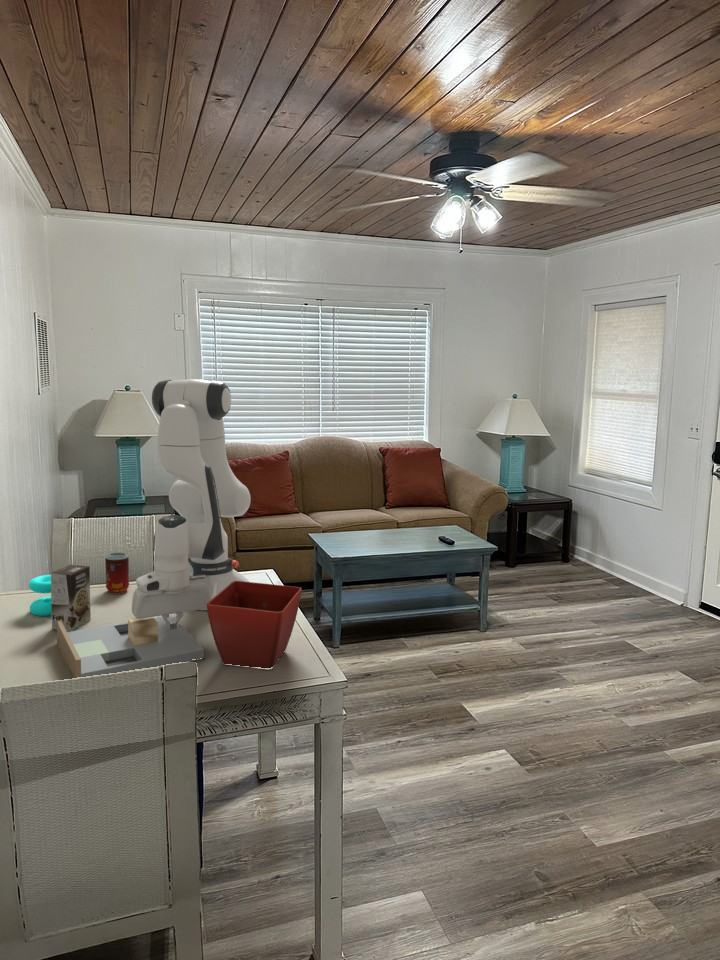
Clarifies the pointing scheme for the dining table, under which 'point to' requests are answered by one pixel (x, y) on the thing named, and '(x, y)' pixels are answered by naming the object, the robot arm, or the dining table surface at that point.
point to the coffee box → (70, 596)
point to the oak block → (142, 630)
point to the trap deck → (123, 649)
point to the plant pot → (253, 622)
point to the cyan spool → (43, 604)
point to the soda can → (117, 573)
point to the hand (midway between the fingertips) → (172, 628)
